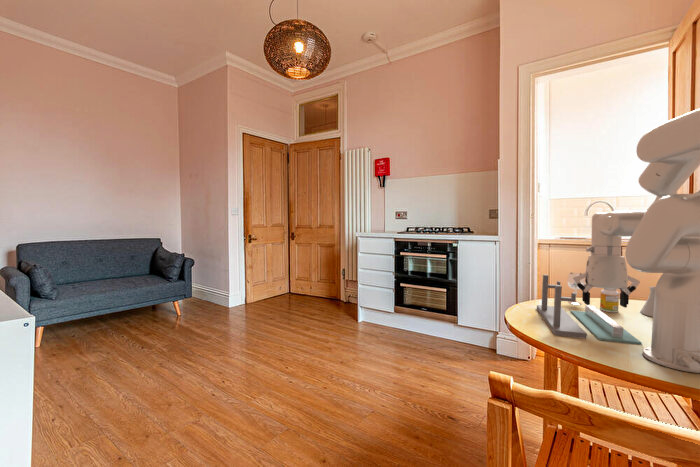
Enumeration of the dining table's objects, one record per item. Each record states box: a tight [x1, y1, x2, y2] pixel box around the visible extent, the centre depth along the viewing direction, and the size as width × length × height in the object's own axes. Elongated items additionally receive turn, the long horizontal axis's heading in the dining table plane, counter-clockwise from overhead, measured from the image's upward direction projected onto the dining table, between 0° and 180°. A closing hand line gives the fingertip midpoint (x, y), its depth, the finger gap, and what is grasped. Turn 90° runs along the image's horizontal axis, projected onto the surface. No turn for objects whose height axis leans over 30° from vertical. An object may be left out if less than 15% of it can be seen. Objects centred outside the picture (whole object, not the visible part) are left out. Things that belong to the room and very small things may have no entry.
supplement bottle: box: [599, 288, 620, 313], centre depth 123 cm, size 5×5×10 cm
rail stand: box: [536, 274, 587, 339], centre depth 111 cm, size 28×8×14 cm, turn 160°
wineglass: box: [567, 272, 586, 306], centre depth 133 cm, size 6×6×12 cm
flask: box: [640, 286, 656, 318], centre depth 118 cm, size 7×7×10 cm
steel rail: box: [584, 304, 625, 338], centre depth 107 cm, size 24×2×3 cm, turn 161°
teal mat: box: [570, 310, 643, 345], centre depth 107 cm, size 28×10×1 cm, turn 160°
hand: (604, 305), depth 105 cm, fingers open, 9 cm apart
